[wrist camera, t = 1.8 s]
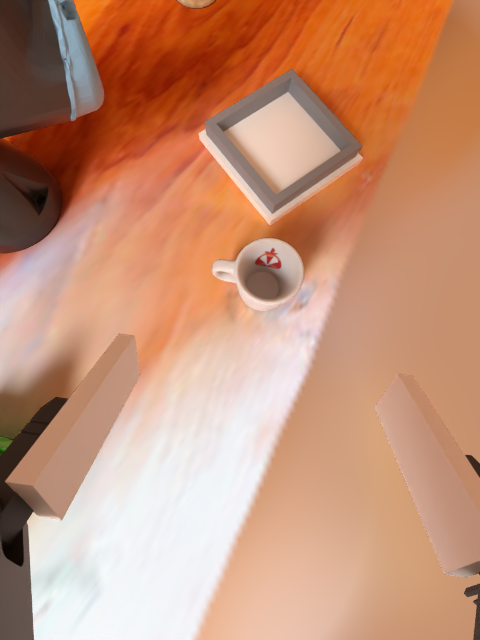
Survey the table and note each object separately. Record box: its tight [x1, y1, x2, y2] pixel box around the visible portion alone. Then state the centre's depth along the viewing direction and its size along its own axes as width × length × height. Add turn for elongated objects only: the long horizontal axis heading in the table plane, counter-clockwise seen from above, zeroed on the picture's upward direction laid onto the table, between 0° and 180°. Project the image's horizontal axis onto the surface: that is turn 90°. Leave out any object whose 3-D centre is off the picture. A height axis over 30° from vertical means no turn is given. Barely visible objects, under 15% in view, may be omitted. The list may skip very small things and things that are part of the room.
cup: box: [212, 238, 304, 311], centre depth 32 cm, size 11×8×8 cm
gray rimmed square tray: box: [199, 69, 363, 225], centre depth 38 cm, size 18×18×3 cm
